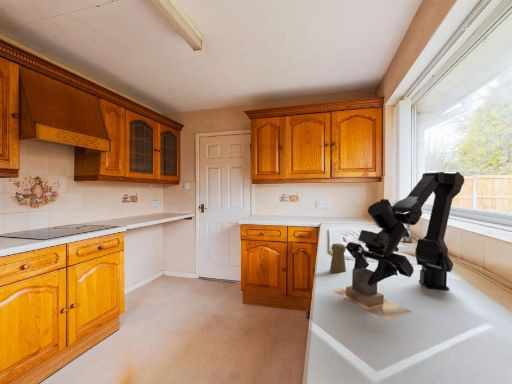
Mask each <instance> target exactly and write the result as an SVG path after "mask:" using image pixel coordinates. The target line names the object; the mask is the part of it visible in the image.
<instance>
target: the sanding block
mask: <svg viewBox="0 0 512 384" xmlns="http://www.w3.org/2000/svg"><path fill="white" fill-rule="evenodd" d="M374 271H375V270H374ZM374 271H373V270H371V269H368V268H366V269H365V268H363V267H362V268H357V269H354V268H352V271H351V273H352V274H351V276H352V278H351V280H352V281H351V282H352V283H351V285H352V286H351V285H348V286H349V287H347V286H345V287H346V297H347V298H349V299H351V300H353V301H355V302H357V303H359V304H360V305H362V306H364V307H366V308H368V309H372V308H375V307H379V306H382V305H383V303H384V299H385V298H384V297H385V296H384V294H382V293H380V292H378V282H377V283H376V284H374V285H372V286H370V285H369V284H368V282H369V279H370V278H371V276H372V274H373V273H374Z"/></svg>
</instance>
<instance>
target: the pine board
mask: <svg viewBox="0 0 512 384" xmlns="http://www.w3.org/2000/svg"><path fill="white" fill-rule="evenodd" d="M349 286H352V284H351V285H348V286H343V287H338V288H335V289H334V288H333V289H331V290H330V291H331V292H333V293H335V294H337V295H339V296H341V297H342V298H345V299H347V300H348V301H350V302H352V303H353V304H355V305H357V306H359V307H360V308H362V309H365V310H366V311H368V312H370V313H372V314H374V315H375V316H378V317H379V318H382V319H383V320H385V321H388V320H391V319H395V318H397V317H401V316H404V315H407V314H411V313H412V312H413V311H412V310H409V309H407V308H405V307H403V306H401V305H399V304H397V303H395V302H392V301H391V300H388V299H385V298H384V303H383V305H382V306H379V307H375V308H372V309H368V308H366V307H364V306H362V305H360V304H359V303H357V302H355V301H353V300H351V299H349V298H347V297H346V287H349Z"/></svg>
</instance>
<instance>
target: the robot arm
mask: <svg viewBox="0 0 512 384" xmlns="http://www.w3.org/2000/svg"><path fill="white" fill-rule="evenodd" d="M464 183H465V177H464V175H462V174H461V173H460V172H459V171H448V172H443V171H440V170H439V171H438V170H436V171H433V170H432V171H426V172H424V173H423V174H422V176H421V178H420V180H419V181H418V182H417V183H416V185H415V186H414V187H413V189H412V190H411V191H410V192H409V194H408V195H407V196H406V197H404V198H403V199H400V200H397V201H396V203H394V204H393V205H391V203H390V200H389V199H387V198H386V199H385V198H381V199H380V200H379V201H376V202H374V203H372V204H371V205H369V207H368V209H367V213H368V215H369V216H370V218H371V219H372V220H373V222H374V223H375V225H376V226H377V227H378V228H380V229H381V230H380V231H379V232H378V233H377V232H375V231H370V230H364V229H362V230H360V233H359V236H358V238H357V241H359V242H362V243H364V244H365V245H364V246H365V248H367V249H368V250H366V249H364V246H362V244H360V243H357V242H354V241H350V242H347V244H346V245H345V248H346V250H347V252H348V253H349V254H350V255H351V257H352V258H354V267H353V269H357V268H362V267H363V268H365V269H368V267H369V265H370V264H369V262H368V261H367V260H368V259H371V260H374V261H377V267H376V268H375V269H374V273H373V274H372V276H371V278H370V279H369V282H368V284H369V285H370V286H372V285H374V284H376V283H377V284H378V283H379V282H381V281H383V280H385V279H388V278H391V277H393V276H398V273H399V275H402V276H405V277H408V278H411V277H412V275H413V273H414V269H415V268H414V266H413V265H412V264H411V262H410V260H409V259H408V258H407V256H406V255H401V254H399V253H398V252H399V250H400V249H399V247H398V246H399V244H400V243H401V242H402V239H403V238H409V237H410V233H409V228H407V227H405V225H408V226H416V225H417V224H418V223H419V221H420V219H421V218H422V215H423V211H422V210H423V209H422V207H423V206H424V205H425V203H426V202H427V201H428V200H429V198H430V196H431V195H433V194H434V200H433V204H432V206H431V207H432V208H431V212H430V216H429V220H428V221H429V222H428V227H427V230H426V235H425V236H424V237H423V238H418V239H417V244H416V248H415V251H414V255H415V259H416V264H417V265H418V266H421V269H420V270H419V279H418V282H419V283H421V284H422V285H423V286H424V287H426V288H428V289H436V290H437V289H438V290H447V291H449V290H450V287H449V286H447V279H448V277H447V276H448V273H451V272H452V271H453V267H454V264H453V261H452V260H451V258H450V257H449V254H448V253H449V249H448V246H447V245H446V242H445V236H446V231H447V226H448V222H449V217H450V213H451V208H452V204H453V203H452V202H453V200H454V198H455V197H456V196H457V195H458V194H460V193H461V191H462V188H463V185H464ZM395 252H396V253H395Z"/></svg>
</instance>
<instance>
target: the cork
mask: <svg viewBox="0 0 512 384" xmlns="http://www.w3.org/2000/svg"><path fill="white" fill-rule="evenodd" d="M345 247H346V245H345V244H343V243H332V245H331V247H330V248H331V252H332V254H331V255H332V256H331V261H330V268H329V273H331V274H333V275H337V274H341V273H346V272H347V271H346V270H347V267H346V260H345V252H346V250H347V249H346V248H345Z"/></svg>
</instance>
